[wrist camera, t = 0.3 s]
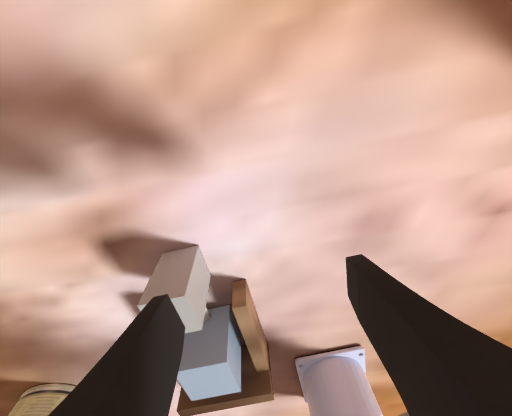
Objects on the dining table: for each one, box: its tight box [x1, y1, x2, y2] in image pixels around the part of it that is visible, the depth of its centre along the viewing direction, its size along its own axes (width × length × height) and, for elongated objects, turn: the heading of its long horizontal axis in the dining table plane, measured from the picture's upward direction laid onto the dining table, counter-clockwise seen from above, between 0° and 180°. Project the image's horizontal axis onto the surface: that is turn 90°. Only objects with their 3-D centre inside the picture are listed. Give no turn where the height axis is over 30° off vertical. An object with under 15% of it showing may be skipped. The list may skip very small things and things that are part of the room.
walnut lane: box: [177, 279, 274, 416], centre depth 22 cm, size 10×9×5 cm
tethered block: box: [137, 245, 241, 401], centre depth 20 cm, size 12×4×6 cm, turn 13°
